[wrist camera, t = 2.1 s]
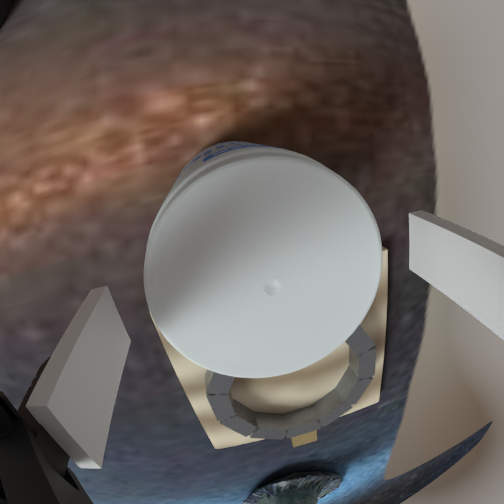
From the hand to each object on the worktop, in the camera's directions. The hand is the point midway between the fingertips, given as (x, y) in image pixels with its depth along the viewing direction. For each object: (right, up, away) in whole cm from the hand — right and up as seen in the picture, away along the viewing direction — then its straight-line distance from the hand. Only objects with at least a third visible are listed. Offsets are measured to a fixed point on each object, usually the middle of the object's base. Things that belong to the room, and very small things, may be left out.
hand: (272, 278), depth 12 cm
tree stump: (+6, -42, +32) cm, 53 cm away
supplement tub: (-2, +5, +13) cm, 14 cm away
